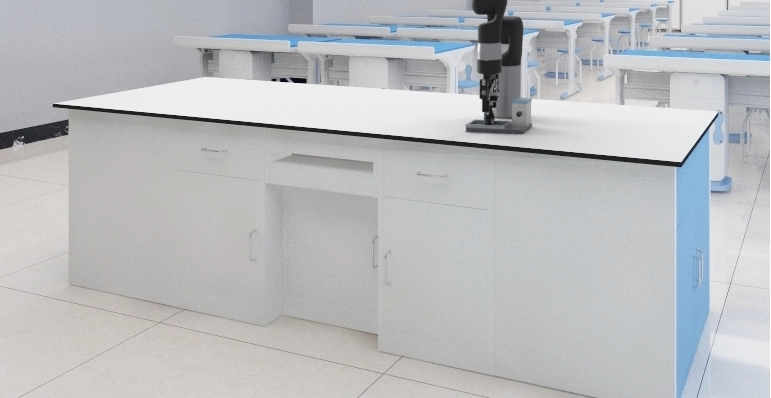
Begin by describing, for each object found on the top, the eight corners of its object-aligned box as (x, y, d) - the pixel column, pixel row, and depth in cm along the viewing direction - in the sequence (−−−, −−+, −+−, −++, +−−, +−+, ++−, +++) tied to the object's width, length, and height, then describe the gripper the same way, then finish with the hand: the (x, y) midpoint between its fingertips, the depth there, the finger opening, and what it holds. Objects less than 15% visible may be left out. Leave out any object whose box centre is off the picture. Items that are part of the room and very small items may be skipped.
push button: (492, 125, 286) (494, 92, 285) (476, 124, 288) (478, 91, 287) (499, 125, 292) (501, 93, 291) (482, 124, 294) (484, 92, 293)
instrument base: (477, 124, 300) (477, 96, 298) (532, 126, 294) (532, 97, 292) (465, 131, 289) (465, 101, 286) (522, 134, 282) (523, 103, 280)
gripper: (483, 54, 293) (483, 105, 297) (471, 60, 280) (471, 113, 284) (507, 55, 290) (506, 106, 294) (495, 60, 277) (495, 114, 282)
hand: (489, 109), depth 289 cm, fingers open, 8 cm apart
